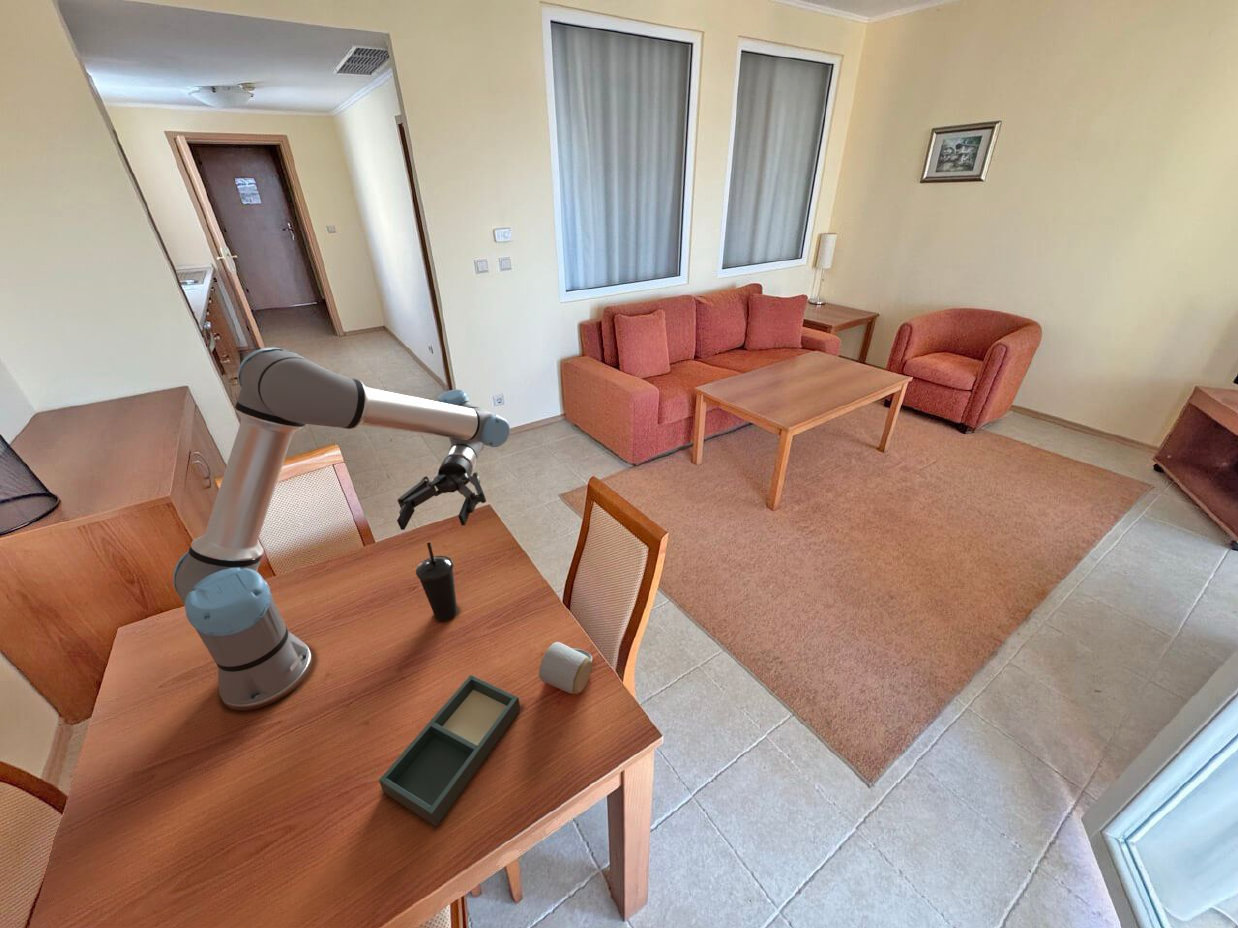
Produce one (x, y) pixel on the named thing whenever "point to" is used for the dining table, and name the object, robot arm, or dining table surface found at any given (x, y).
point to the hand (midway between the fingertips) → (431, 523)
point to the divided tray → (450, 749)
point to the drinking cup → (438, 585)
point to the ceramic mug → (566, 668)
